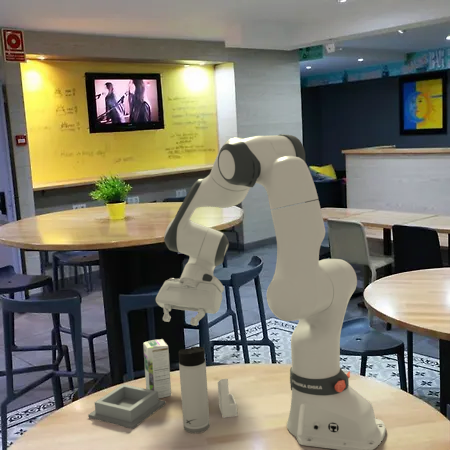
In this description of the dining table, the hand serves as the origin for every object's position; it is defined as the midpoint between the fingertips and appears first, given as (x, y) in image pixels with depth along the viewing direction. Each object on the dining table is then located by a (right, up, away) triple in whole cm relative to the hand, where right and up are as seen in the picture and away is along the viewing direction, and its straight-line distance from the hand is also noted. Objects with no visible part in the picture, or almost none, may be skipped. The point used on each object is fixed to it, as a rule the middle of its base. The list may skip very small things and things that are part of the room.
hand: (179, 322), depth 167 cm
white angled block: (+14, -19, -19) cm, 30 cm away
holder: (-12, -20, -16) cm, 28 cm away
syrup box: (-5, -18, -7) cm, 20 cm away
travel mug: (+6, -21, -26) cm, 34 cm away
